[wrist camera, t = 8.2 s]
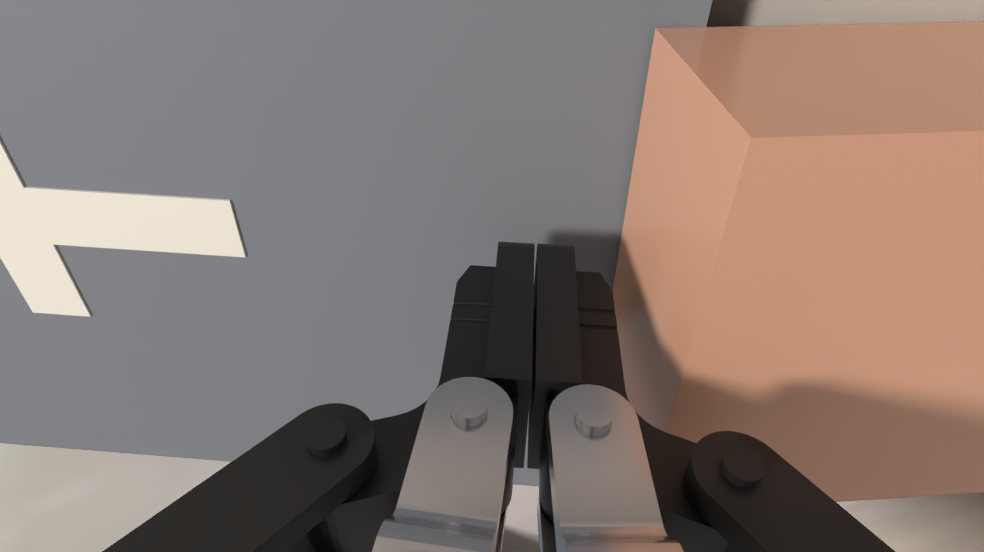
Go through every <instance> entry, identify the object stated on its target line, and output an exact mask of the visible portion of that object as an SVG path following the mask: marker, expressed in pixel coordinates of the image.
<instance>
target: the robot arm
mask: <svg viewBox="0 0 984 552" xmlns="http://www.w3.org/2000/svg"><path fill="white" fill-rule="evenodd" d="M534 254H535V243H518V242H500V241H499V242H498V250H497V260H496V267H492V266H475V265H470V266H469V268H468V269H467V270H466V271H465V272H464V274H463V275H462V276H461V277H460V279H459V280H458V281H457V284H456V290H455V296H454V303H453V307H452V313H451V321H450V324H449V330H448V336H447V341H446V347H445V353H444V358H443V364H442V370H441V376H440V380H439V384H438V386H437V388H436V389H435V390H434V391H433V392H432V393H431V395H430V396H429V398H428V400H427V401H425V402H424V403H423V404H421V405H420V406H418V407H417V408H415V409H413V410H411V411H408V412H406V413H403V414H399V415H395V416H391V417H386V418H381V419H377V420H372V421H370V419H369V417H368V416H367V415H366V414H365V413H364V412H363V411H361V410H360V409H358V408H356V407H354V406H351V405H347V404H341V403H329V404H323V405H319V406H316V407H313V408H311V409H309V410H307V411H305V412H303V413H302V414H300V415H298V416H297V417H296V418H294V419H293V420H291V421H290V422H288V423H287V424H285V425H284V426H283V427H281V428H280V429H278V430H277V431H275V432H274V433H273V434H271V435H270V436H268V437H267V438H265V439H264V440H262V441H261V442H260V443H258V444H257V445H255V446H254V447H252V448H251V449H250V450H248V451H247V452H245V453H244V454H242V455H241V456H239V457H238V458H237V459H235V460H234V461H232V462H231V463H229V464H228V465H227V466H225V467H224V468H222V469H221V470H219V471H218V472H216V473H215V474H214V475H212V476H211V477H209V478H208V479H206V480H205V481H203V482H202V483H201V484H199V485H198V486H196V487H195V488H193V489H192V490H191V491H189V492H188V493H186V494H185V495H183V496H182V497H180V498H179V499H178V500H176V501H175V502H173V503H172V504H170V505H169V506H168V507H166V508H165V509H163V510H162V511H160V512H159V513H157V514H156V515H155V516H153V517H152V518H150V519H149V520H147V521H146V522H145V523H143V524H142V525H140V526H139V527H137V528H136V529H134V530H133V531H132V532H130V533H129V534H127V535H126V536H124V537H123V538H121V539H120V540H119V541H117V542H116V543H114V544H113V545H111V546H110V547H109V548H107V549H106V550H104V551H103V552H501V551H502V543H503V536H504V529H505V521H506V514H507V507H508V505H509V503H510V500H511V496H512V486H513V472H514V468H524V459H525V447H526V436H527V425H528V456H527V468H530V469H539V498H538V506H537V518H538V532H539V547H540V552H895V551H894V550H892V549H891V548H890V547H889V546H888V545H886V544H885V543H884V542H883V541H882V540H880V539H879V538H878V537H877V536H876V535H874V534H873V533H872V532H871V531H870V530H868V529H867V528H866V527H865V526H864V525H862V524H861V523H860V522H859V521H858V520H856V519H855V518H854V517H853V516H852V515H851V514H849V513H848V512H847V511H846V510H845V509H843V508H842V507H841V506H840V505H839V504H837V503H836V502H835V501H834V500H833V499H831V498H830V497H829V496H828V495H827V494H825V493H824V492H823V491H822V490H821V489H819V488H818V487H817V486H816V485H815V484H813V483H812V482H811V481H810V480H809V479H807V478H806V477H805V476H804V475H803V474H801V473H800V472H799V471H798V470H797V469H795V468H794V467H793V466H792V465H791V464H789V463H788V462H787V461H786V460H785V459H783V458H782V457H781V456H780V455H779V454H777V453H776V452H775V451H774V450H773V449H771V448H770V447H769V446H767V445H766V444H765V443H763V442H761V441H760V440H758V439H756V438H754V437H752V436H749V435H747V434H743V433H740V432H734V431H718V432H714V433H710V434H708V435H706V436H704V437H703V438H702V439H700V440H699V441H698V443H695V442H692V441H689V440H686V439H684V438H681V437H678V436H675V435H672V434H669V433H667V432H664V431H662V430H659V429H658V428H656V427H654V426H652V425H651V424H649V423H648V422H646V421H645V420H644V419H643V418H642V417H641V416H639V415H638V413H637V412H636V411H635V410H634V408H633V407H632V405H631V404H630V402H629V400H628V397H627V394H626V390H625V382H624V375H623V367H622V359H621V352H620V344H619V336H618V331H617V321H616V314H615V305H614V298H613V290H612V289H611V288H610V286H609V285H608V283H607V282H606V281H605V279H604V278H603V277H602V275H601V274H600V272H583V271H576V263H575V248H574V245H557V244H539V243H538V244H537V252H536V264H535V277H534ZM528 414H529V418H528Z"/></svg>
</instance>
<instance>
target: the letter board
mask: <svg viewBox="0 0 984 552" xmlns="http://www.w3.org/2000/svg"><path fill="white" fill-rule="evenodd" d="M712 1H713V0H0V443H7V444H20V445H32V446H45V447H57V448H70V449H82V450H95V451H107V452H119V453H132V454H144V455H157V456H169V457H182V458H194V459H206V460H219V461H231V462H232V461H234V460H235V459H237V458H238V457H239V456H241V455H242V454H244V453H245V452H247V451H248V450H250V449H251V448H252V447H254V446H255V445H257V444H258V443H260V442H261V441H262V440H264V439H265V438H267V437H268V436H270V435H271V434H273V433H274V432H275V431H277V430H278V429H280V428H281V427H283V426H284V425H285V424H287V423H288V422H290V421H291V420H293V419H294V418H296V417H297V416H298V415H300V414H302V413H303V412H305V411H307V410H309V409H311V408H313V407H316V406H319V405H323V404H329V403H341V404H347V405H351V406H354V407H356V408H358V409H360V410H361V411H363V412H364V413H365V414H366V415H367V416H368V417H369V419H370V421H372V420H377V419H381V418H386V417H391V416H395V415H399V414H403V413H406V412H408V411H411V410H413V409H415V408H417V407H418V406H420V405H421V404H423V403H424V402H425V401H427V400H428V398H429V396H430V395H431V393H432V392H433V391H434V390H435V389H436V388H437V386H438V384H439V380H440V376H441V370H442V364H443V358H444V353H445V347H446V341H447V336H448V330H449V324H450V321H451V313H452V307H453V303H454V296H455V290H456V284H457V281H458V280H459V279H460V277H461V276H462V275H463V274H464V272H465V271H466V270H467V269H468V268H469V266H470V265H475V266H492V267H496V260H497V250H498V242H499V241H500V242H518V243H535V254H534V277H535V264H536V252H537V244H538V243H539V244H557V245H574V248H575V263H576V271H583V272H600V274H601V275H602V277H603V278H604V279H605V281H606V282H607V283H608V285H609V286H610V288H611V289H612V290H613V284H614V278H615V272H616V266H617V260H618V254H619V247H620V241H621V235H622V229H623V223H624V217H625V211H626V204H627V198H628V192H629V186H630V180H631V174H632V168H633V161H634V155H635V149H636V143H637V137H638V131H639V125H640V119H641V112H642V106H643V100H644V94H645V88H646V82H647V76H648V69H649V63H650V57H651V51H652V45H653V39H654V33H655V28H681V27H706V26H707V22H708V18H709V13H710V9H711V5H712ZM528 418H529V414H528ZM527 456H528V425H527V436H526V447H525V459H524V468H514V472H513V484H517V485H530V486H539V469H530V468H527Z"/></svg>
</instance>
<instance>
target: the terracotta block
mask: <svg viewBox="0 0 984 552" xmlns="http://www.w3.org/2000/svg"><path fill="white" fill-rule="evenodd" d="M613 298H614V305H615V314H616V321H617V331H618V336H619V344H620V352H621V359H622V367H623V375H624V382H625V390H626V394H627V397H628V400H629V402H630V404H631V405H632V407H633V408H634V410H635V411H636V412H637V413H638V415H639V416H641V417H642V418H643V419H644V420H645V421H646V422H648V423H649V424H651V425H652V426H654V427H656V428H658V429H659V430H662V431H664V432H667V433H669V434H672V435H675V436H678V437H681V438H684V439H686V440H689V441H692V442H695V443H698V441H699V440H700V439H702V438H703V437H704V436H706V435H708V434H710V433H714V432H718V431H734V432H740V433H743V434H747V435H749V436H752V437H754V438H756V439H758V440H760V441H761V442H763V443H765V444H766V445H767V446H769V447H770V448H771V449H773V450H774V451H775V452H776V453H777V454H779V455H780V456H781V457H782V458H783V459H785V460H786V461H787V462H788V463H789V464H791V465H792V466H793V467H794V468H795V469H797V470H798V471H799V472H800V473H801V474H803V475H804V476H805V477H806V478H807V479H809V480H810V481H811V482H812V483H813V484H815V485H816V486H817V487H818V488H819V489H821V490H822V491H823V492H824V493H825V494H827V495H828V496H829V497H830V498H831V499H833V500H834V501H835V502H840V501H856V500H872V499H888V498H903V497H919V496H935V495H951V494H967V493H983V492H984V22H935V23H884V24H834V25H783V26H732V27H681V28H655V33H654V39H653V45H652V51H651V57H650V63H649V69H648V76H647V82H646V88H645V94H644V100H643V106H642V112H641V119H640V125H639V131H638V137H637V143H636V149H635V155H634V161H633V168H632V174H631V180H630V186H629V192H628V198H627V204H626V211H625V217H624V223H623V229H622V235H621V241H620V247H619V254H618V260H617V266H616V272H615V278H614V284H613Z"/></svg>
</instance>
